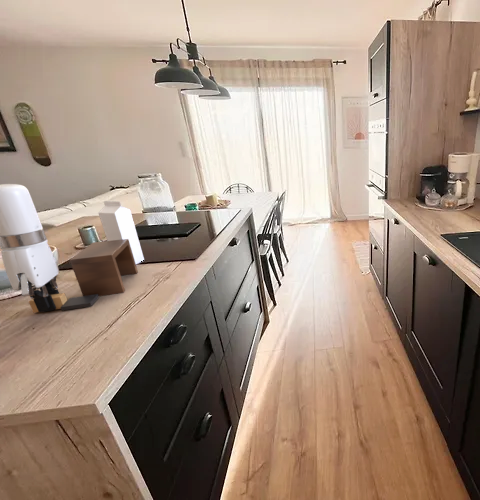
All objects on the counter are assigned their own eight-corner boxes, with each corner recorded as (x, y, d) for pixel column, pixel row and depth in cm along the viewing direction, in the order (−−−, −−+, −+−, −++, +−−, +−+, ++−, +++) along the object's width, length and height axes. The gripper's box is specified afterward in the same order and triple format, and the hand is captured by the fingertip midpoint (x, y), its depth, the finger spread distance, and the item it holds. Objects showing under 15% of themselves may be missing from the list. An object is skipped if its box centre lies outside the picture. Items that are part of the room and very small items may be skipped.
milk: (130, 267, 98) (111, 203, 90) (115, 266, 99) (94, 203, 91) (144, 260, 103) (127, 199, 96) (129, 259, 104) (111, 199, 96)
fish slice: (30, 315, 70) (25, 304, 69) (41, 305, 74) (37, 294, 73) (91, 306, 74) (87, 295, 73) (98, 297, 78) (95, 286, 77)
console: (84, 298, 78) (69, 259, 74) (104, 276, 91) (92, 242, 87) (123, 292, 81) (111, 254, 77) (138, 271, 94) (128, 238, 90)
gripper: (22, 231, 72) (49, 295, 79) (-27, 252, 58) (10, 328, 65) (61, 228, 75) (83, 290, 81) (22, 248, 61) (53, 321, 67)
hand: (51, 306), depth 73 cm, fingers closed on fish slice, 2 cm apart
